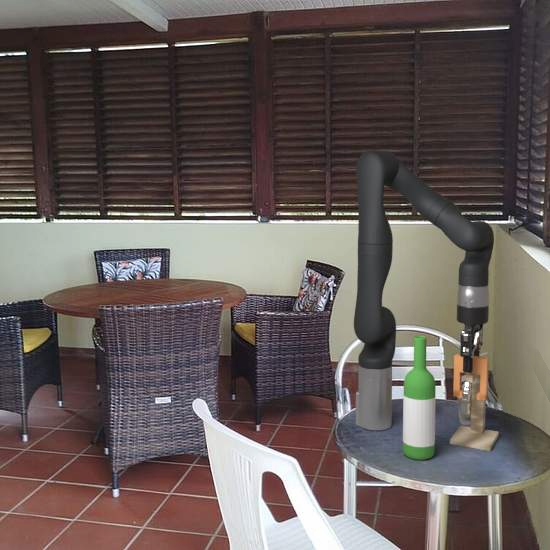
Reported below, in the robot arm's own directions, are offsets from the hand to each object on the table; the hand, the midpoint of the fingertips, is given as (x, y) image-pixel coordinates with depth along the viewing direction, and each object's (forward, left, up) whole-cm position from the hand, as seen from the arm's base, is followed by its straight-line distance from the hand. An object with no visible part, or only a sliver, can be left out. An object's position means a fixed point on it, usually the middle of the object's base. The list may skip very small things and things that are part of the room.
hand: (471, 368), depth 165 cm
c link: (0, 0, -7) cm, 7 cm away
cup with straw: (-4, +18, -21) cm, 28 cm away
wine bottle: (-10, -9, -21) cm, 25 cm away
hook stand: (0, +5, -21) cm, 22 cm away
